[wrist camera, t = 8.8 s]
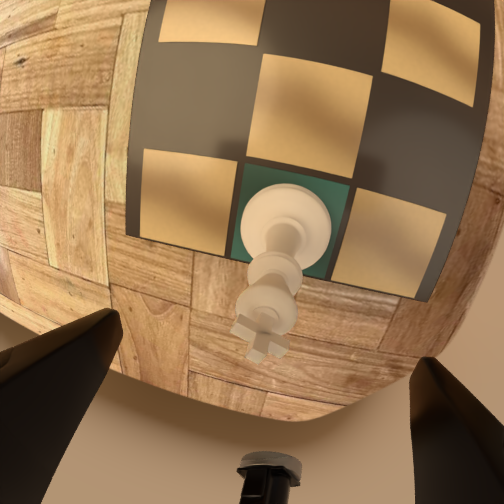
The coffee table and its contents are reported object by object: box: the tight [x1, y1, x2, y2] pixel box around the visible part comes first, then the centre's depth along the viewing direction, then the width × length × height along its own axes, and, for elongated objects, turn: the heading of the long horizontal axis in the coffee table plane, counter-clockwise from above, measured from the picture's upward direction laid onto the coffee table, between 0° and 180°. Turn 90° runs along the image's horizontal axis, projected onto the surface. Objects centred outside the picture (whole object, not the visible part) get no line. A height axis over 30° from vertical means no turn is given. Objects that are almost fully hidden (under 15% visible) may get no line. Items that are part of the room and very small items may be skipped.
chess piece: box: [230, 184, 331, 365], centre depth 12 cm, size 5×5×10 cm
